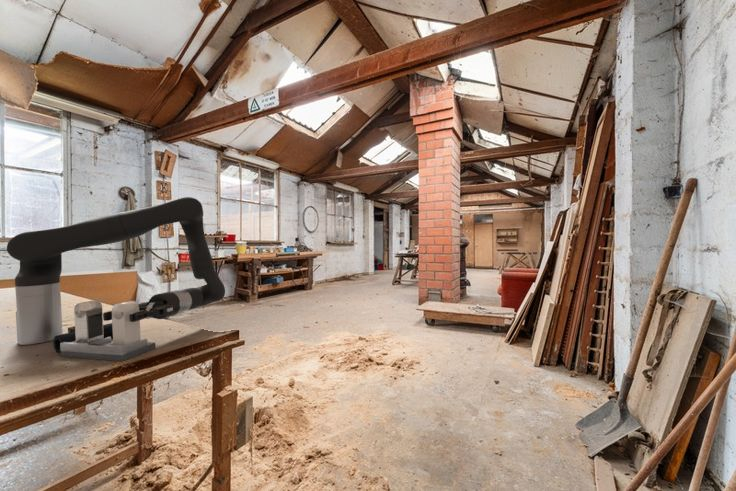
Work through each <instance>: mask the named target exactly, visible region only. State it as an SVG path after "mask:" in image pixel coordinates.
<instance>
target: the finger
mask: <svg viewBox="0 0 736 491" xmlns="http://www.w3.org/2000/svg"><path fill="white" fill-rule="evenodd" d="M138 304H139V303H137V301H135V300H130V301H125V302H120V303H116V304H114V305H113V306H112V307H111V311H112V320H111V323H112V327H113V345H121V346H126V345H129V344H131V343H134V342H137V341H140V340H142V339H141V338H142V337H141V320H138V321H135V322H130V319H129V315H130V314H131V313H134V312H138V311H139V305H138Z"/></svg>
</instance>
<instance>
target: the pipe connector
mask: <svg viewBox="0 0 736 491" xmlns="http://www.w3.org/2000/svg"><path fill="white" fill-rule="evenodd" d="M103 332H104V338H107V337H111V340H113V327H112V322H110V323H106V324H103ZM73 341H76V335H75V325H74V326H70V327H67V333H66V332H65V333H63V334H61V335H57V336H55V337H54V340H52V342H53V343H52V344H53V346H52V347H53V348H54V351H55V353H57V354H59V355H61V349H60V343H63V342H73Z"/></svg>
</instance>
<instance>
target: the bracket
mask: <svg viewBox="0 0 736 491" xmlns="http://www.w3.org/2000/svg"><path fill="white" fill-rule="evenodd" d="M73 311H74V312H73V313H74V326H75V335H76V341H73V342H63V343H60V349H61V354H60V357H63V358H75V359H88V360H90V359H91V360H99V361H101V360H102V361H103V360H104V361H113V362H115V361H116V362H124V361H127V360H130V359H132V358H134V357H137V356H140V355H142V354H144V353H148V352H149V351H152V350H153V349H156V342H151V341H148V338H143V339H141V340H140V341H137V342H134V343H131V344H129V345H126V346H121V345H113V340H111V337H107V338H104V332H103V325H104V320H103V313H104V312H103V305H102V303H101V301H99V300H98V299H94V300H89V301H84V302H79V303H76V305H75V306H74V309H73Z"/></svg>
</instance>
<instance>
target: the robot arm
mask: <svg viewBox="0 0 736 491" xmlns="http://www.w3.org/2000/svg"><path fill="white" fill-rule="evenodd" d="M203 209H204V208H203V204H202V203H201V201H199V199H197V198H195V197H191V196H183V197H179V198H176V199H173V200H169V201H166V202H163V203H160V204H156V205H153V206H148V207H141V208H137V209H132V210H128V211H127V210H126V211H122V212H116V213H111V214H107V215H103V216H99V217H96V218H95V217H94V218H91V219H88V220H83V221H81V222H77V223H75V224H71V225H66V226H60V227H54V228H49V229H41V230H34V231H33V230H31V231H24V232H21V233H18V234H16V235H14V236H13V237H12V238H10V240H9V241H8V243H7V245H6V251H7V254H8V255H9V256H10V257H11V258H12V259H14V260H17V261H19V271H18V273H17V275H16V276H15V278H14V287H15V304H16V312H15V322H16V324H15V325H16V339H17V340H16V341H17V343H18V345H20V346H23V345H24V346H26V345H36V344H41V343H46V342H51V341H53V340H54V337H55V336H57V335H61V334H64V331H63V314H62V313H63V312H62V297H61V296H62V295H61V274H62V270H63V269H62V268H63V267H62V266H63V265H62V264H63V261H62V260H63V258H62V254H63V253H66V252H69V251H73V250H77V249H82V248H90V247H97V246H104V245H109V244H110V245H111V244H116V243H121V242H123V241H127V240H130V239H135V238H138V237H141V236H142V235H145V234H147V233H149V232H151V231H153V230H155V229H156V228H159V227H162V226H165V225H169V224H175V223H179V225H180V227H181V229H182V231H183V233H184V237H185V239H186V240H185V241H186V244H187V250H188V258H189V262H190V266H191V269H192V274H193V278H195V280H204V282H205V283H206V284H204V285H202V286H197V287H189V288H184V289H177V290H170V291H166V292H162V293H161V292H160V293H157V294H154V295H152V296H151V297H150V298H149V300H148V301H143V302H140V303H137V304H138V305H139V311H138V312H134V313H131V314H130V315H129V319H130V322H135V321H138V320H140V321H141V320H144V319H146V320H150V319H156V320H164V319H168V318H169V317H174V316H176V315H177V316H178V315H180V314H182V313H184V312H187V311H190V310H193V309H196V308H200V307H203V306H207V305H210V304H213V303H216V302H219V301H221V300H223V299H224V298H225V295H226V288H225V285H224V283H223V281H222V279H221V278H220V277H219V275H218V273H217V272H216V269H215V265H214V262H213V258H212V254H211V251H210V248H209V245H208V242H207V240H206V235H205V232H204V210H203ZM108 321H112V310H109V311H105V312H103V322H108Z"/></svg>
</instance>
